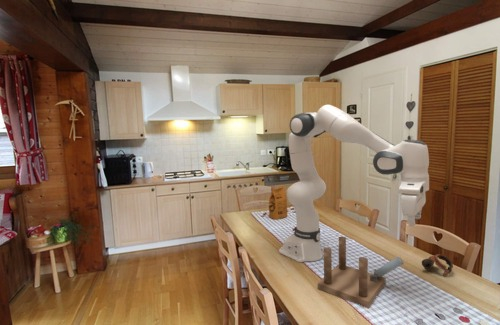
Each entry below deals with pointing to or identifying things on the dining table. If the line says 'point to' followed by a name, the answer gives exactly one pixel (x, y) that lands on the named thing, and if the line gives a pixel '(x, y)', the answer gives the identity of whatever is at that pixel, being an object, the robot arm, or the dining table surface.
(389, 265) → the hinged leg
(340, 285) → the stool seat
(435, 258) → the pottery mug
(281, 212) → the coffee package
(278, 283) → the dining table surface
